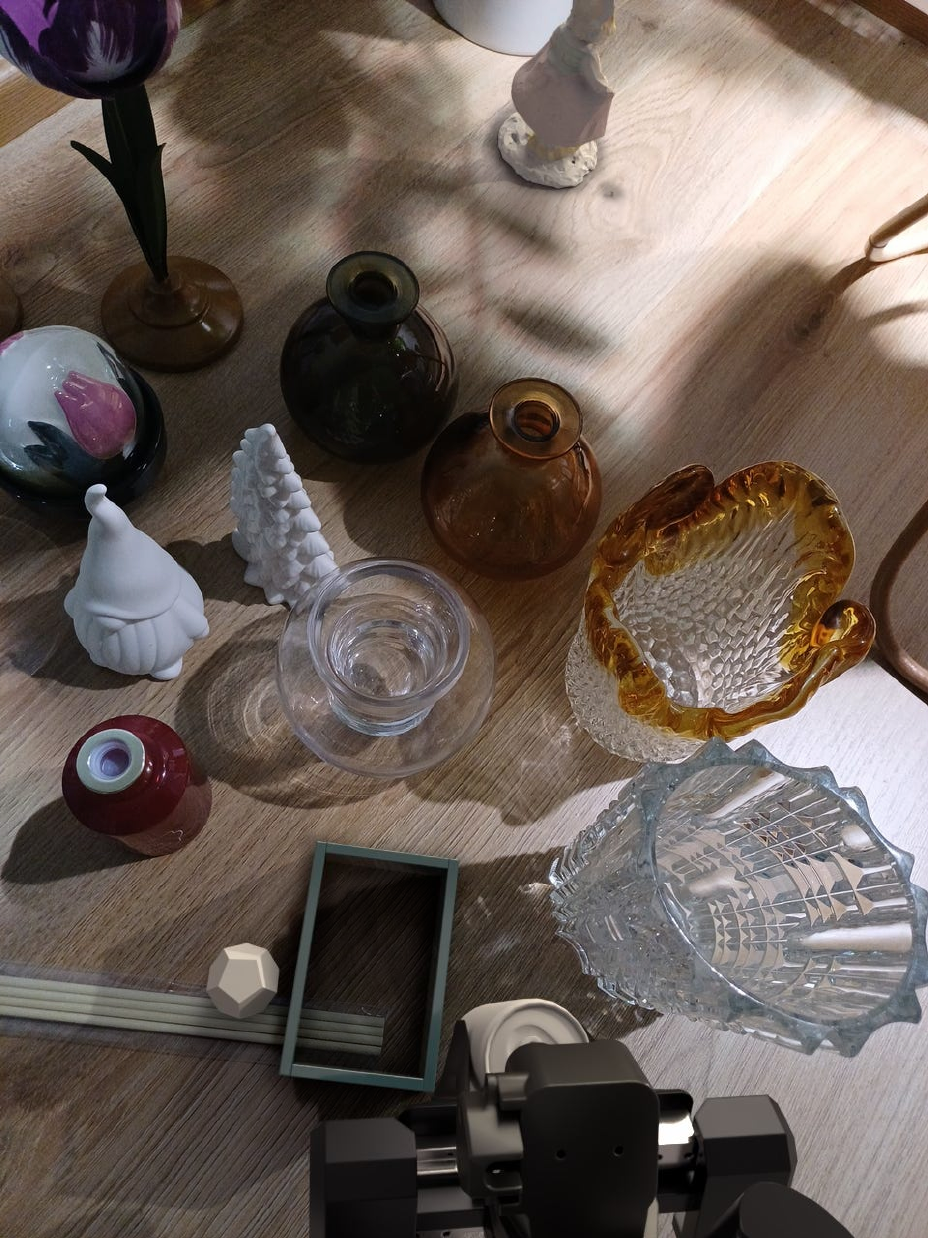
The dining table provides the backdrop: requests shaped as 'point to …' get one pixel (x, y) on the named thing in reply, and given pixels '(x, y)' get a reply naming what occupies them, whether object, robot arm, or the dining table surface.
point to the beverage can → (514, 1032)
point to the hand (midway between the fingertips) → (514, 1024)
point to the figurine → (561, 101)
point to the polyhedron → (243, 980)
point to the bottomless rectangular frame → (437, 972)
